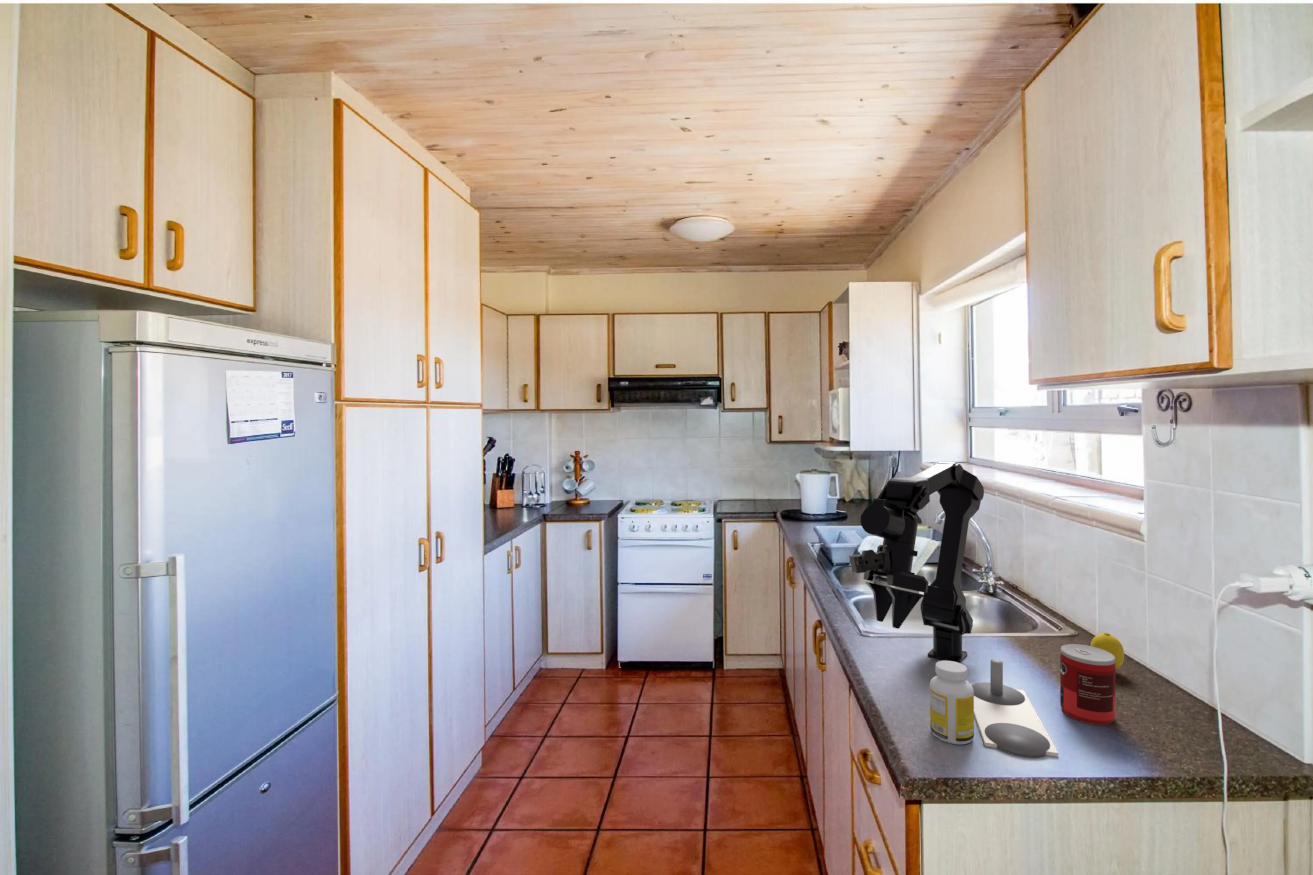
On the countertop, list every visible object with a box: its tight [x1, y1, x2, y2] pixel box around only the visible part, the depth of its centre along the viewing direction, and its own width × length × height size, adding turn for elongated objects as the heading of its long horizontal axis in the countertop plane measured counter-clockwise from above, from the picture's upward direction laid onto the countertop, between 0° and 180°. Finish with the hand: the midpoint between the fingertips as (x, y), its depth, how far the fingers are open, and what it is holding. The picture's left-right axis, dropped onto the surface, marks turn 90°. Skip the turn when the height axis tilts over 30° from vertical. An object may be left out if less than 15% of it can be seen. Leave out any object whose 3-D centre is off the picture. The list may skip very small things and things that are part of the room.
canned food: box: [1059, 643, 1117, 726], centre depth 104 cm, size 8×8×11 cm
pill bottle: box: [929, 660, 975, 745], centre depth 98 cm, size 6×6×12 cm
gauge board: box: [970, 658, 1059, 758], centre depth 104 cm, size 25×10×7 cm, turn 160°
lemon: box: [1089, 632, 1125, 670], centre depth 121 cm, size 6×6×8 cm
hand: (887, 624), depth 114 cm, fingers open, 9 cm apart
